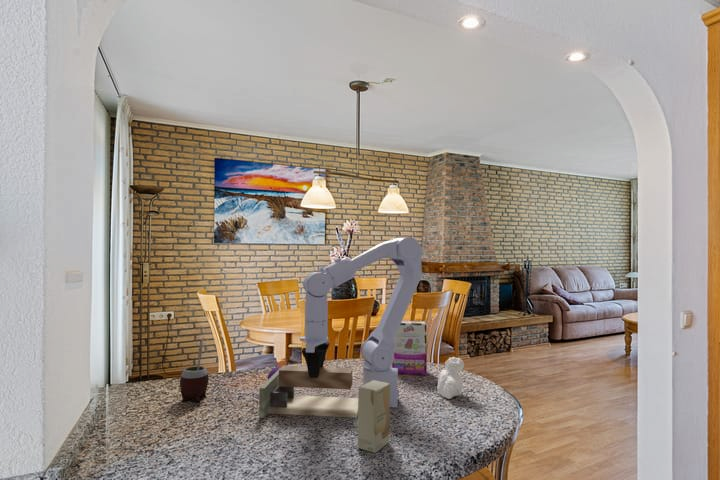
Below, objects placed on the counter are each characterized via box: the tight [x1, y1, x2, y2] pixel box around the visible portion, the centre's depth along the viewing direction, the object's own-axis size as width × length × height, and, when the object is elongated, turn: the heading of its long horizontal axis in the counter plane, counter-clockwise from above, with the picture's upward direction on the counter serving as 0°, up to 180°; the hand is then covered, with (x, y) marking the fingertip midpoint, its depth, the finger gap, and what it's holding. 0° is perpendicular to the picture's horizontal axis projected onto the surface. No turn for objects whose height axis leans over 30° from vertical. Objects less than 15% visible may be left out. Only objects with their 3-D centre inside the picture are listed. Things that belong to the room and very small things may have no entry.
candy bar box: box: [391, 320, 428, 376], centre depth 135 cm, size 11×5×16 cm, turn 81°
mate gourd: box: [179, 337, 210, 404], centre depth 110 cm, size 8×8×15 cm
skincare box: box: [357, 380, 391, 453], centre depth 85 cm, size 6×4×12 cm
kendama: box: [267, 360, 288, 380], centre depth 126 cm, size 6×6×20 cm
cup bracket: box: [258, 370, 358, 419], centre depth 105 cm, size 23×16×7 cm
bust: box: [436, 356, 465, 400], centre depth 115 cm, size 12×8×11 cm
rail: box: [279, 365, 353, 390], centre depth 104 cm, size 18×4×4 cm, turn 84°
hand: (315, 374), depth 104 cm, fingers closed on rail, 4 cm apart
